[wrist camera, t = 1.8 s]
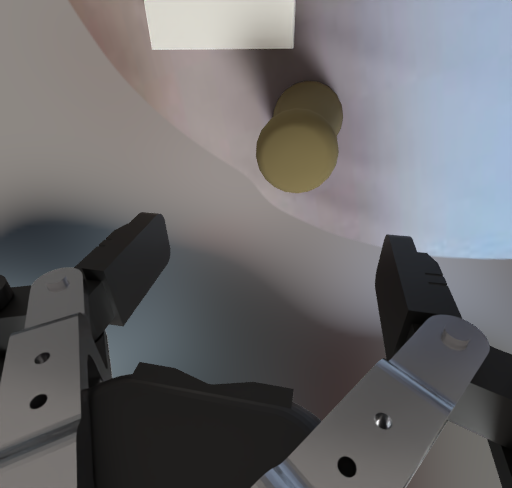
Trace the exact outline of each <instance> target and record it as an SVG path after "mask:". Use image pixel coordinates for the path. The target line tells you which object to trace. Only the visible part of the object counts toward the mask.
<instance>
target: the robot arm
mask: <svg viewBox="0 0 512 488" xmlns="http://www.w3.org/2000/svg"><path fill="white" fill-rule="evenodd" d="M169 258H170V245H169V240H168V235H167V230H166V224H165V220H164V217H163V216H162V215H161V214H155V213H144V212H142V213H139V214H138V215H137V216H136V217H135V218H134V219H133V220H132V221H131V222H130V223H129V224H126V225H124V226H122V227H120V228H118V229H116V230H114V231H113V232H112V233H111V234H110V235H109V236H108V237H107V238H106V240H104V241H103V242H102V243H100V244H99V247H96V248H95V249H94V250H93V251H92V252H91V253H90V254H88V255H87V256H86V257H85V258H84V259H83V260H82V261H81V262H80V263H79V264H78V265H76V266H75V267H74V268H60V269H56V270H53V271H50V272H48V273H46V274H44V275H42V276H41V277H39V278H38V279H37V280H36V281H35V282H34V283H33V284H32V285H31V286H21V287H10V285H9V284H8V282H7V280H6V278H5V277H4V276H2V275H0V488H406V487H407V485H408V483H409V482H410V480H411V478H412V477H413V475H414V474H415V472H416V470H417V469H418V467H419V466H420V464H421V462H422V461H423V459H424V458H425V456H426V455H427V453H428V451H429V450H430V448H431V447H432V445H433V443H434V442H435V440H436V439H437V437H438V435H439V434H440V432H441V431H442V429H443V428H444V426H445V424H446V423H447V421H450V422H452V423H454V424H457V425H459V426H461V427H463V428H465V429H467V430H469V431H472V432H474V433H476V434H478V435H480V436H482V437H484V438H486V439H487V440H488V443H489V446H490V449H491V452H492V456H493V459H494V462H495V465H496V468H497V472H498V475H499V478H500V482H501V484H502V488H512V355H511V354H509V353H506V352H503V351H501V350H498V349H496V348H494V347H491V346H490V345H489V342H488V340H487V338H486V336H485V335H484V334H483V333H482V332H481V331H480V330H479V329H478V328H477V327H476V326H474V325H473V324H471V323H469V322H468V321H465V320H464V319H462V317H461V315H460V313H459V310H458V308H457V306H456V303H455V301H454V299H453V296H452V295H451V292H450V290H449V288H448V286H447V283H446V281H445V278H444V277H443V274H442V272H441V269H440V267H439V265H438V263H437V262H436V261H435V260H434V259H433V258H432V257H430V256H429V255H428V254H427V253H420V252H417V250H416V248H415V245H414V242H413V240H412V238H411V237H409V236H398V235H386V237H385V239H384V243H383V247H382V251H381V255H380V259H379V263H378V267H377V272H376V279H375V290H376V296H377V302H378V309H379V315H380V321H381V328H382V334H383V341H384V347H385V353H386V359H384V358H383V359H382V360H380V361H379V362H378V363H377V364H376V365H375V366H374V367H373V368H372V369H371V370H370V371H369V372H368V373H367V374H366V375H365V376H364V377H363V378H362V380H360V381H359V383H358V384H357V385H356V386H355V387H354V388H353V389H352V390H351V391H350V392H349V393H348V394H347V395H346V396H345V397H344V398H343V399H342V401H341V402H340V403H339V404H338V405H337V406H336V407H335V408H334V409H333V410H332V411H331V412H330V413H329V414H328V415H327V417H326V418H324V420H323V421H321V420H320V419H319V418H318V417H316V416H315V415H314V414H312V413H311V412H310V411H308V410H307V409H305V408H303V407H302V406H300V405H298V404H295V403H293V402H292V401H293V389H290V388H284V387H279V386H273V385H267V384H262V383H256V382H246V383H231V384H216V385H211V384H207V383H205V382H203V381H201V380H199V379H197V378H194V377H192V376H190V375H188V374H186V373H184V372H182V371H180V370H178V369H176V368H171V367H165V366H159V365H154V364H148V363H142V362H140V363H139V364H138V366H137V367H136V369H135V371H134V373H133V374H129V375H124V376H119V377H116V378H112V371H111V363H110V356H109V347H108V339H107V334H106V331H105V329H106V327H107V326H108V325H109V324H111V325H118V326H124V325H125V323H126V322H127V320H128V319H129V318H130V316H131V315H132V313H133V312H134V310H135V309H136V307H137V306H138V305H139V303H140V302H141V301H142V299H143V298H144V296H145V295H146V294H147V292H148V291H149V289H150V288H151V286H152V285H153V284H154V282H155V281H156V279H157V278H158V277H159V275H160V274H161V272H162V271H163V269H164V268H165V267H166V265H167V264H168V262H169Z"/></svg>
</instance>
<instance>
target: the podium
mask: <svg viewBox="0 0 512 488" xmlns="http://www.w3.org/2000/svg"><path fill="white" fill-rule="evenodd" d="M144 4H145V10H146V16H147V22H148V28H149V34H150V40H151V46H152V50H182V49H293V48H294V29H295V6H296V0H144Z"/></svg>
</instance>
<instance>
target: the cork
mask: <svg viewBox="0 0 512 488" xmlns="http://www.w3.org/2000/svg"><path fill="white" fill-rule="evenodd" d="M342 120H343V112H342V105H341V103H340V101H339V99H338V97H337V95H336V94H335V93H334V92H333V91H332V90H331V89H330V88H329V87H328V86H326V85H324V84H322V83H320V82H315V81H304V82H300V83H296V84H294V85H293V86H291V87H290V88H288V89H287V90H285V91H284V93H283V94H282V95H281V96H280V98H279V99H278V101H277V104H276V106H275V109H274V114H273V118H271V119H270V121H269V122H268V123H267V124H266V126H265V127H264V128H263V129H262V130H261V133H260V136H259V138H258V141H257V148H256V158H257V162H258V166H259V169H260V171H261V173H262V174H263V176H264V177H265V179H266V180H267V181H268V182H269V183H271V184H272V185H273V186H274V187H276V188H278V189H280V190H282V191H285V192H291V193H301V192H308V191H310V190H312V189H314V188H316V187H318V186H320V185H321V184H322V183H323V182H324V181H325V180H326V179H327V178H328V177H329V176H330V175H331V173H332V171H333V169H334V167H335V166H336V162H337V157H338V152H339V151H338V143H337V135H338V133H339V131H340V129H341V125H342Z"/></svg>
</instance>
